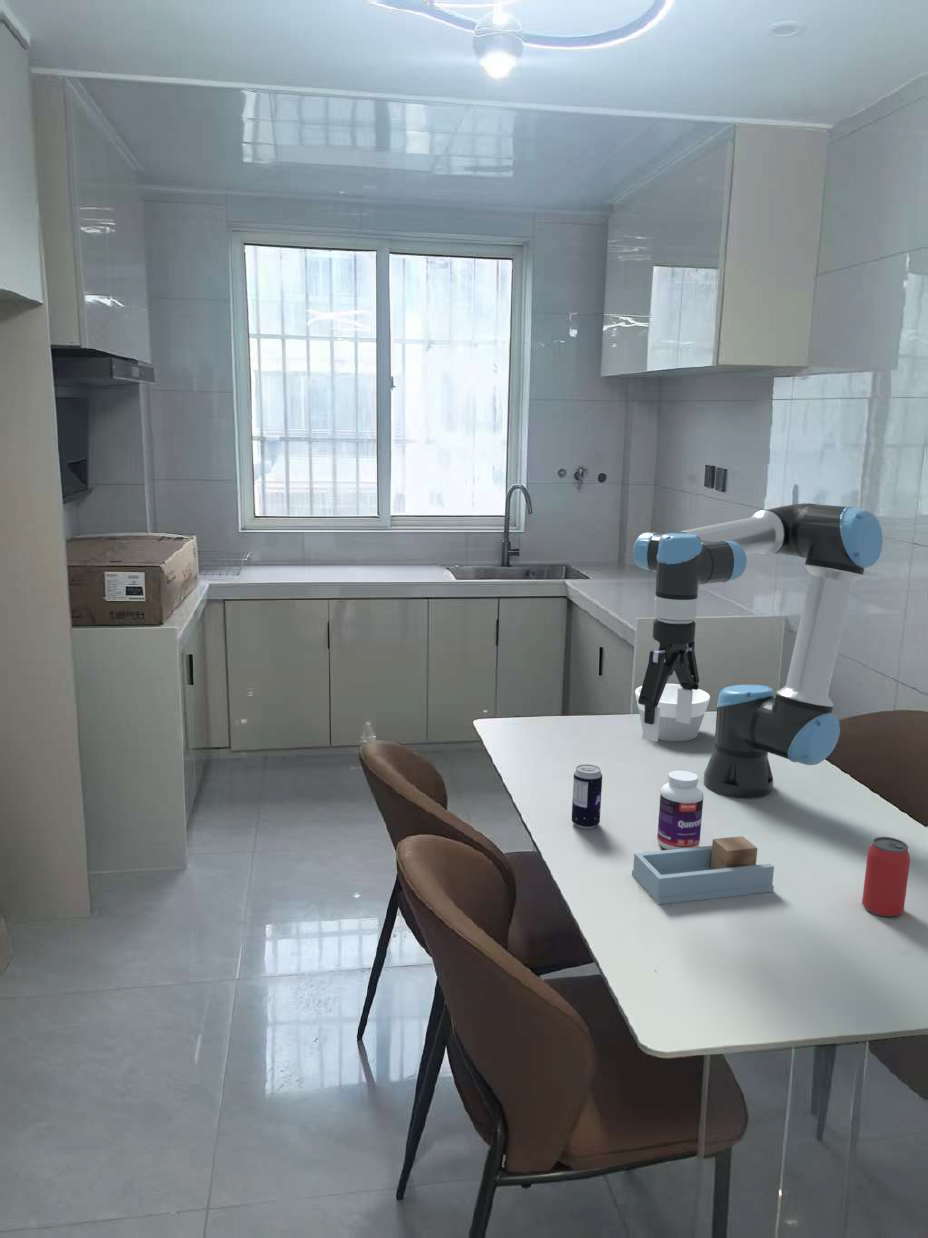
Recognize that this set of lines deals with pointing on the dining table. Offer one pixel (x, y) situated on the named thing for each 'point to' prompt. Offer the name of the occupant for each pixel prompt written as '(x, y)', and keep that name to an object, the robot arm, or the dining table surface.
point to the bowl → (668, 707)
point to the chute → (696, 876)
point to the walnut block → (732, 853)
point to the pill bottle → (680, 811)
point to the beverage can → (586, 796)
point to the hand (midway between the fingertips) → (667, 730)
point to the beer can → (886, 877)
